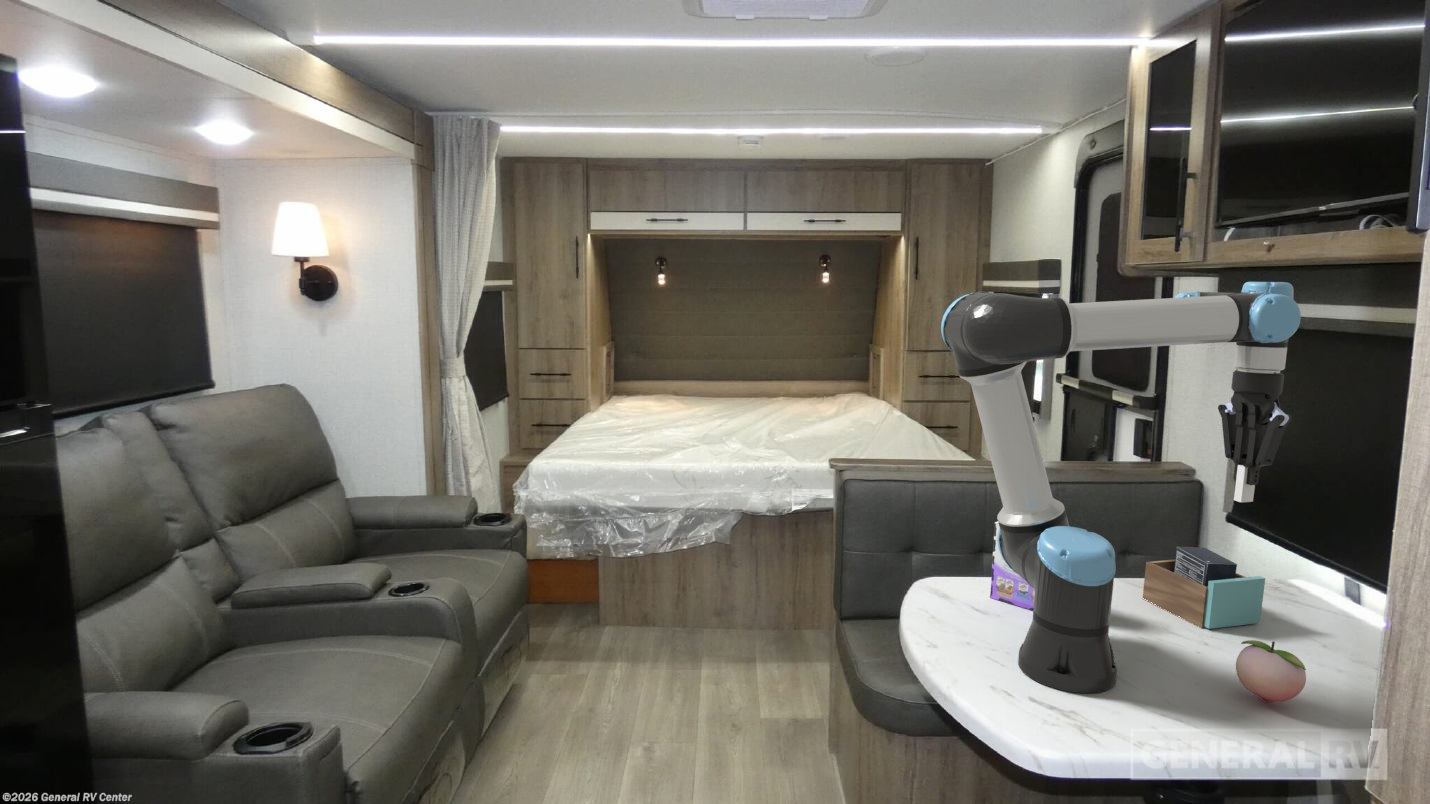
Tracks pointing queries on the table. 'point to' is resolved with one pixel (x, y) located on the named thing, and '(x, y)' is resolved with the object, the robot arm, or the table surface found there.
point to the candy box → (1008, 581)
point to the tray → (1234, 602)
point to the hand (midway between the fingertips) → (1243, 500)
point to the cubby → (1175, 591)
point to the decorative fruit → (1270, 672)
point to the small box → (1203, 565)
